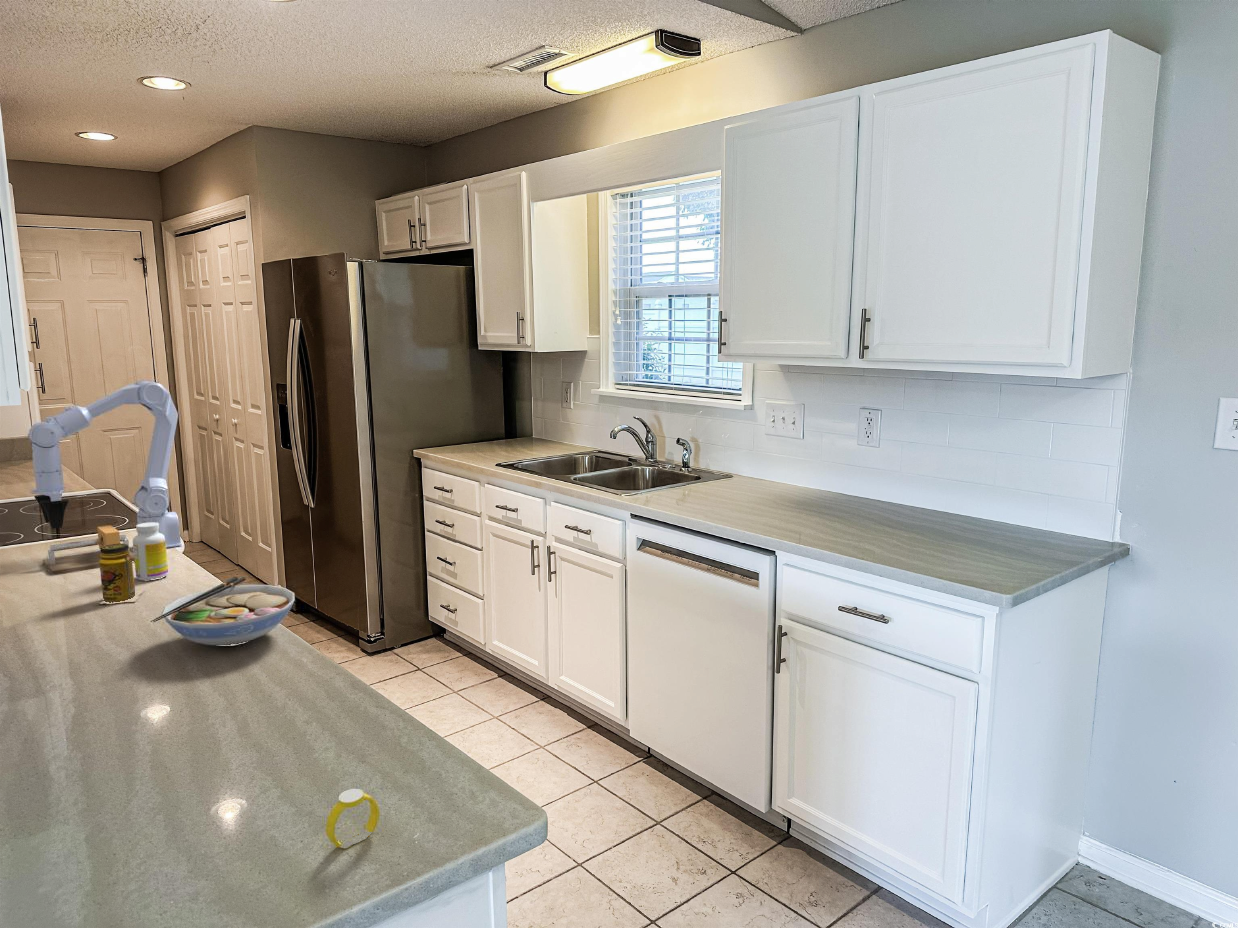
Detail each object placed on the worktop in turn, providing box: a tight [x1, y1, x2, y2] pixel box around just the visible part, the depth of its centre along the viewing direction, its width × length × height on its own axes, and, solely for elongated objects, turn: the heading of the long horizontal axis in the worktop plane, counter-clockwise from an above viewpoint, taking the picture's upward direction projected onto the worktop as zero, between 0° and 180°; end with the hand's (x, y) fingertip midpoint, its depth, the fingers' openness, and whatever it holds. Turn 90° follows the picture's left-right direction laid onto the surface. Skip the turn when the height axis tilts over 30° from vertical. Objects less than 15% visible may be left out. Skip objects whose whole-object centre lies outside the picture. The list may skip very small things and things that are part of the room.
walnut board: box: [42, 550, 134, 576], centre depth 209 cm, size 18×13×1 cm
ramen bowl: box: [150, 576, 295, 646], centre depth 158 cm, size 25×23×8 cm
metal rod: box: [47, 534, 131, 566], centre depth 208 cm, size 17×2×5 cm, turn 132°
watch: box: [325, 788, 380, 848], centre depth 96 cm, size 6×3×6 cm, turn 137°
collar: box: [97, 524, 121, 550], centre depth 211 cm, size 3×9×6 cm, turn 42°
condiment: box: [99, 542, 136, 603], centre depth 181 cm, size 7×8×12 cm
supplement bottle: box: [132, 522, 169, 581], centre depth 196 cm, size 7×7×13 cm
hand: (54, 525), depth 208 cm, fingers open, 7 cm apart
